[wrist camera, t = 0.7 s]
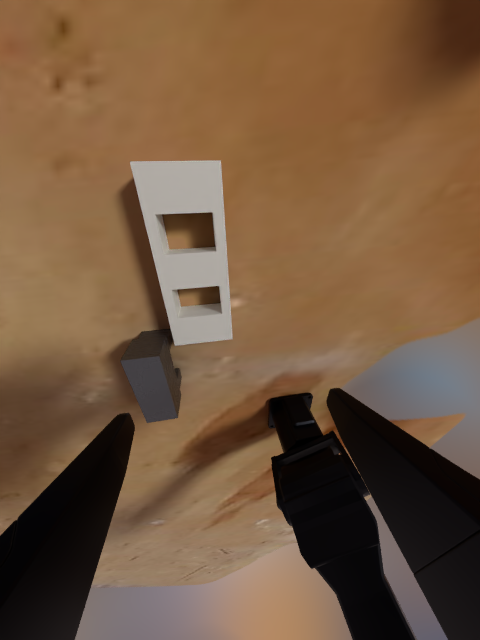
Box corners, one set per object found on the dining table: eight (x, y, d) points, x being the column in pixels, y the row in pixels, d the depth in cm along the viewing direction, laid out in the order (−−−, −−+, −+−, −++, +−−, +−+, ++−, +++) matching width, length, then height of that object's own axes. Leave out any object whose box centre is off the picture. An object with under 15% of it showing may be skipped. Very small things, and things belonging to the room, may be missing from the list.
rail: (229, 326, 22) (232, 339, 19) (178, 332, 21) (174, 345, 19) (218, 168, 15) (220, 160, 13) (141, 169, 14) (129, 161, 12)
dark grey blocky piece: (183, 380, 24) (177, 417, 20) (158, 383, 24) (146, 422, 19) (169, 324, 20) (159, 356, 16) (139, 327, 20) (120, 360, 16)
